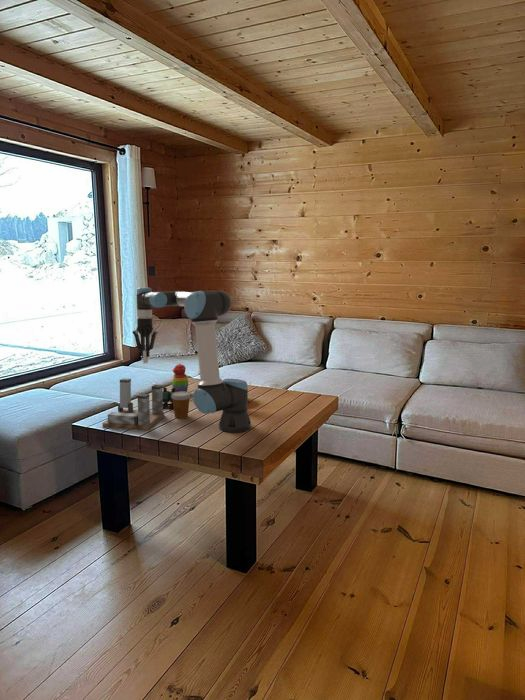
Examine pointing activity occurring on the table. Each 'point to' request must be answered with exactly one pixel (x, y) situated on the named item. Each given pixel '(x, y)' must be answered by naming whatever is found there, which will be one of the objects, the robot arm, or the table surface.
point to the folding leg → (125, 392)
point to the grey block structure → (138, 412)
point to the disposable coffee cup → (181, 404)
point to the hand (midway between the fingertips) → (145, 362)
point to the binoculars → (168, 398)
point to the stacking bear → (180, 378)
